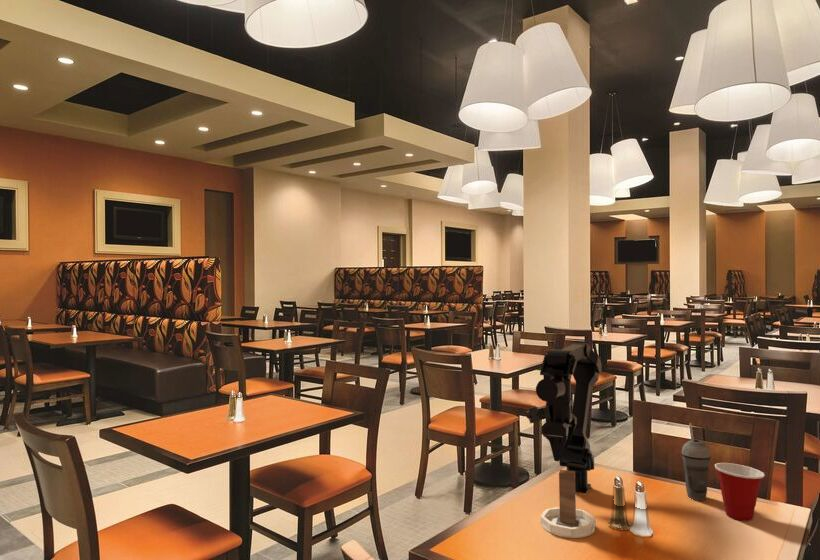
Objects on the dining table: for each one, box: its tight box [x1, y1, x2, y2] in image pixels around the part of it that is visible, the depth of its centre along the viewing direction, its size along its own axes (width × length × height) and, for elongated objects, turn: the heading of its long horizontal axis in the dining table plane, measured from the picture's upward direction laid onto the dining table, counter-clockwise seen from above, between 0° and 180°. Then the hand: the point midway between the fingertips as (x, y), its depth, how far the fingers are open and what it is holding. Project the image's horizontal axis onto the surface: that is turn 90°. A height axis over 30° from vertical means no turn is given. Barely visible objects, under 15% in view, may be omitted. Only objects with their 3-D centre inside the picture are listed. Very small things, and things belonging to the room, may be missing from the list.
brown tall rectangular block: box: [556, 469, 580, 528], centre depth 133 cm, size 5×5×12 cm
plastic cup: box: [714, 462, 766, 522], centre depth 137 cm, size 11×11×12 cm
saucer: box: [540, 506, 596, 539], centre depth 133 cm, size 12×12×2 cm
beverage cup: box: [680, 423, 712, 502], centre depth 149 cm, size 7×7×20 cm
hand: (559, 456), depth 145 cm, fingers open, 9 cm apart
